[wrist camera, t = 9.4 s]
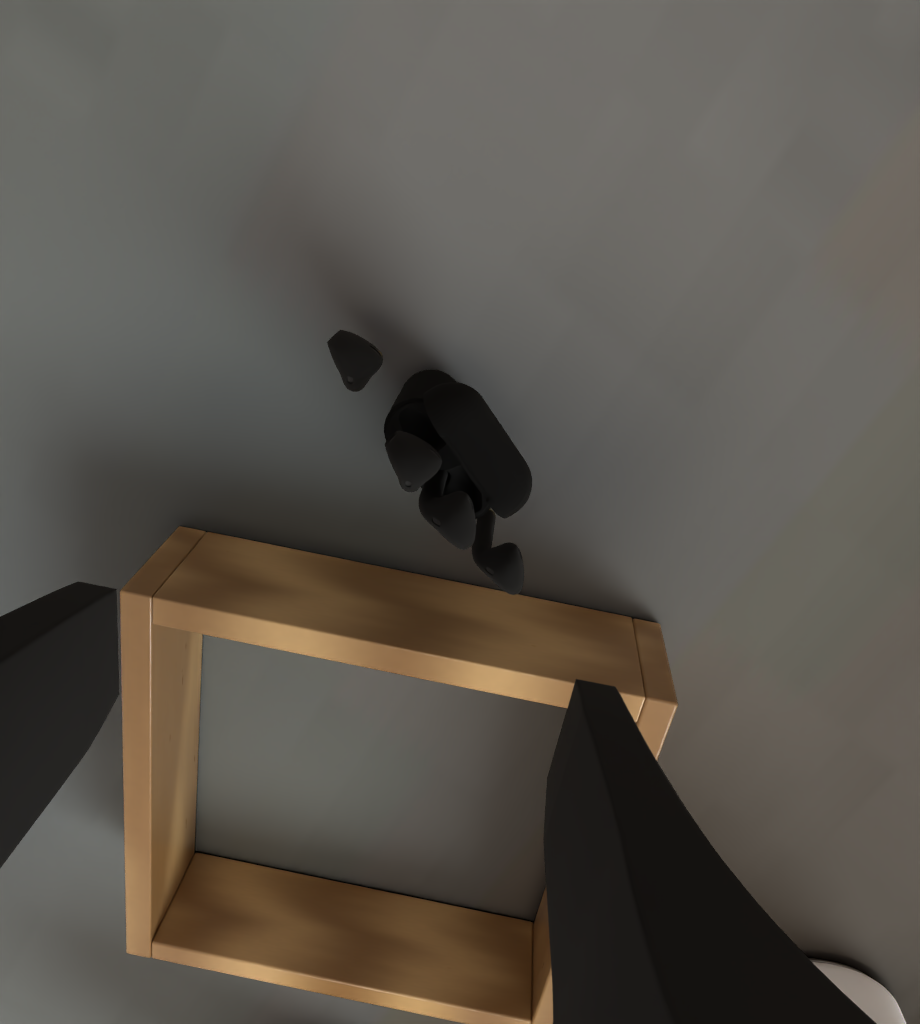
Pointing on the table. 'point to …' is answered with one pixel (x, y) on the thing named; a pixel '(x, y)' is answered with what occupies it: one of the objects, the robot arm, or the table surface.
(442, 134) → the table surface
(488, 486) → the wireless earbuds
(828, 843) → the table surface
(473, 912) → the wooden frame
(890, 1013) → the can
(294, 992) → the table surface
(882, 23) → the table surface
